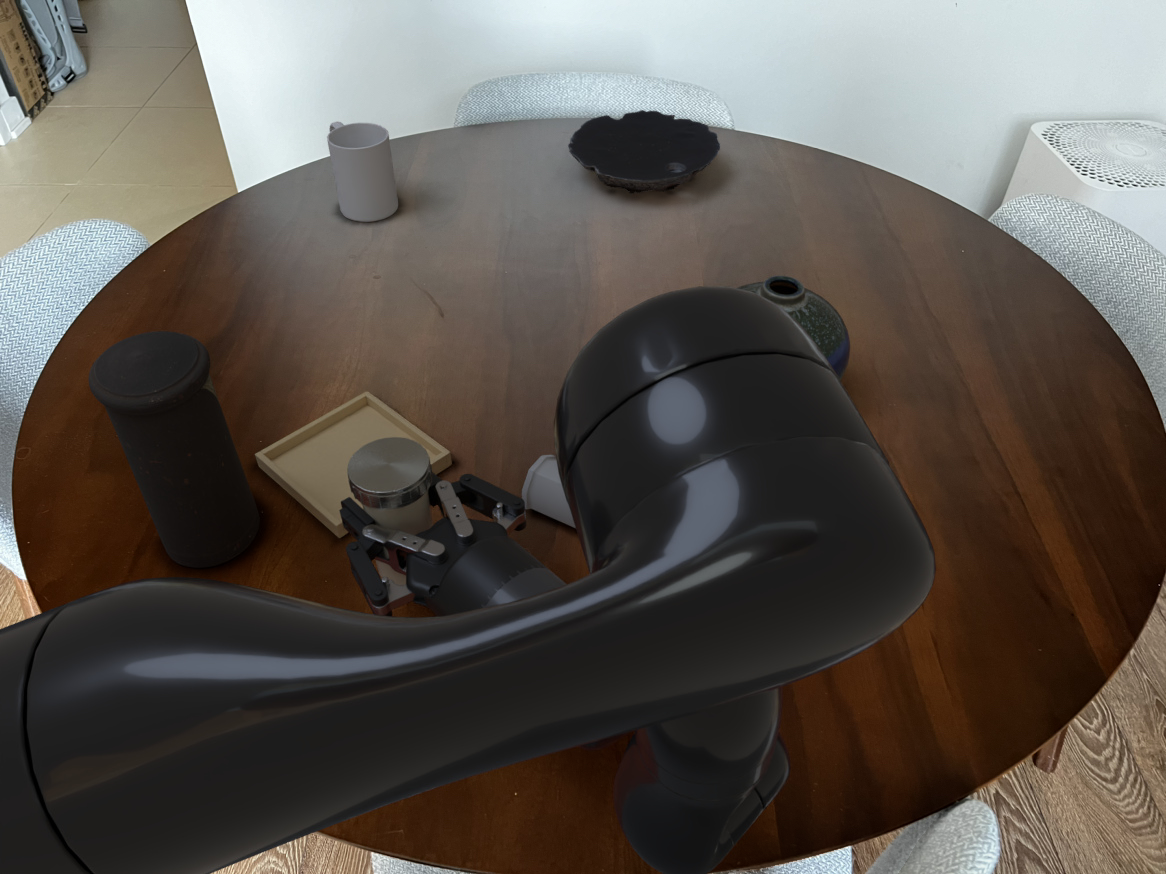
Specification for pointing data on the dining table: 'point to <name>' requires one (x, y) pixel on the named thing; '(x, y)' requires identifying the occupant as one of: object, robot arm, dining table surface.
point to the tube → (546, 490)
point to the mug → (363, 171)
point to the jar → (402, 527)
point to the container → (178, 445)
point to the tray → (338, 455)
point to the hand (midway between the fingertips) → (377, 489)
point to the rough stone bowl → (644, 150)
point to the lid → (389, 473)
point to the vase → (809, 316)
